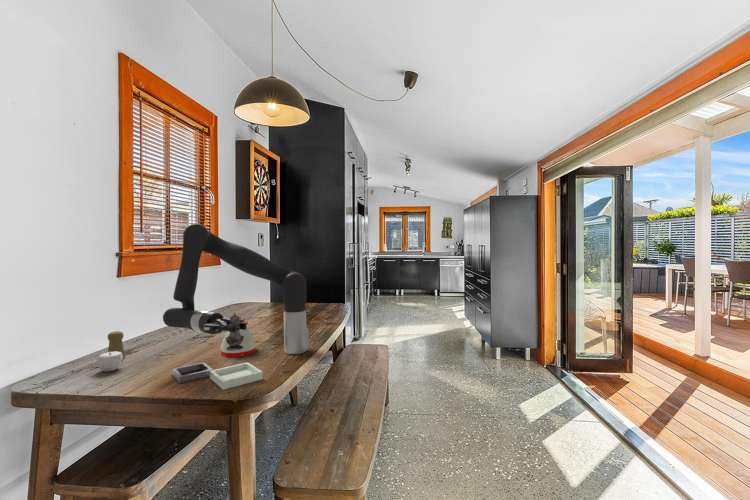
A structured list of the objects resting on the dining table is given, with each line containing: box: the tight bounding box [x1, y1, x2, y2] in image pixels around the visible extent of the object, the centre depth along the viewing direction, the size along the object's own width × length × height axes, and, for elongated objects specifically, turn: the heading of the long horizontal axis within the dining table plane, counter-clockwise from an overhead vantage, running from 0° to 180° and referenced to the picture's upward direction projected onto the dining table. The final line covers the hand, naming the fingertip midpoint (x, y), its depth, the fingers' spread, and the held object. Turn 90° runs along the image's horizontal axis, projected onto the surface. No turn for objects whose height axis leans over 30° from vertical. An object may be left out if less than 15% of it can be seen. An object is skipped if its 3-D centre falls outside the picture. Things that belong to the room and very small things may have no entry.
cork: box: [107, 330, 126, 360], centre depth 143 cm, size 6×6×11 cm
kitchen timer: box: [220, 316, 257, 358], centre depth 151 cm, size 14×14×15 cm
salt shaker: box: [226, 312, 244, 350], centre depth 121 cm, size 6×6×12 cm
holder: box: [171, 362, 214, 384], centre depth 125 cm, size 10×10×2 cm
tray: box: [209, 362, 264, 391], centre depth 121 cm, size 13×13×2 cm
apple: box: [96, 351, 124, 372], centre depth 131 cm, size 8×8×7 cm
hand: (240, 327), depth 119 cm, fingers closed on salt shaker, 3 cm apart
